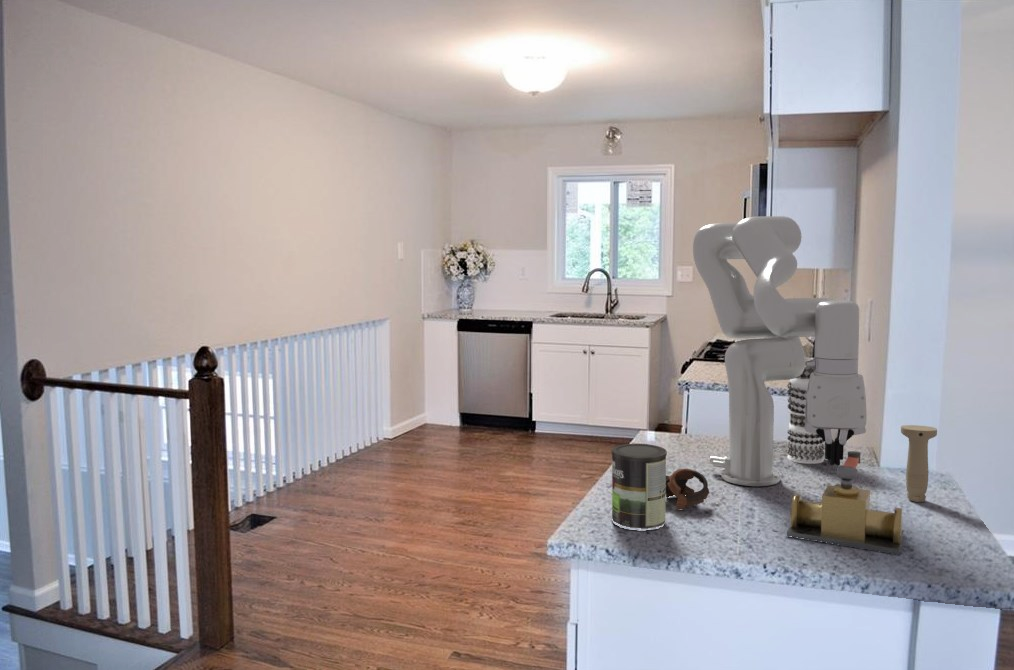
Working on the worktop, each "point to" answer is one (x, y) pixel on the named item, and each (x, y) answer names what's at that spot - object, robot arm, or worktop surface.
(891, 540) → the valve
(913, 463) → the handle
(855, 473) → the lever
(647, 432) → the worktop surface
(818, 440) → the white patterned cylinder
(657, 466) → the coffee can
